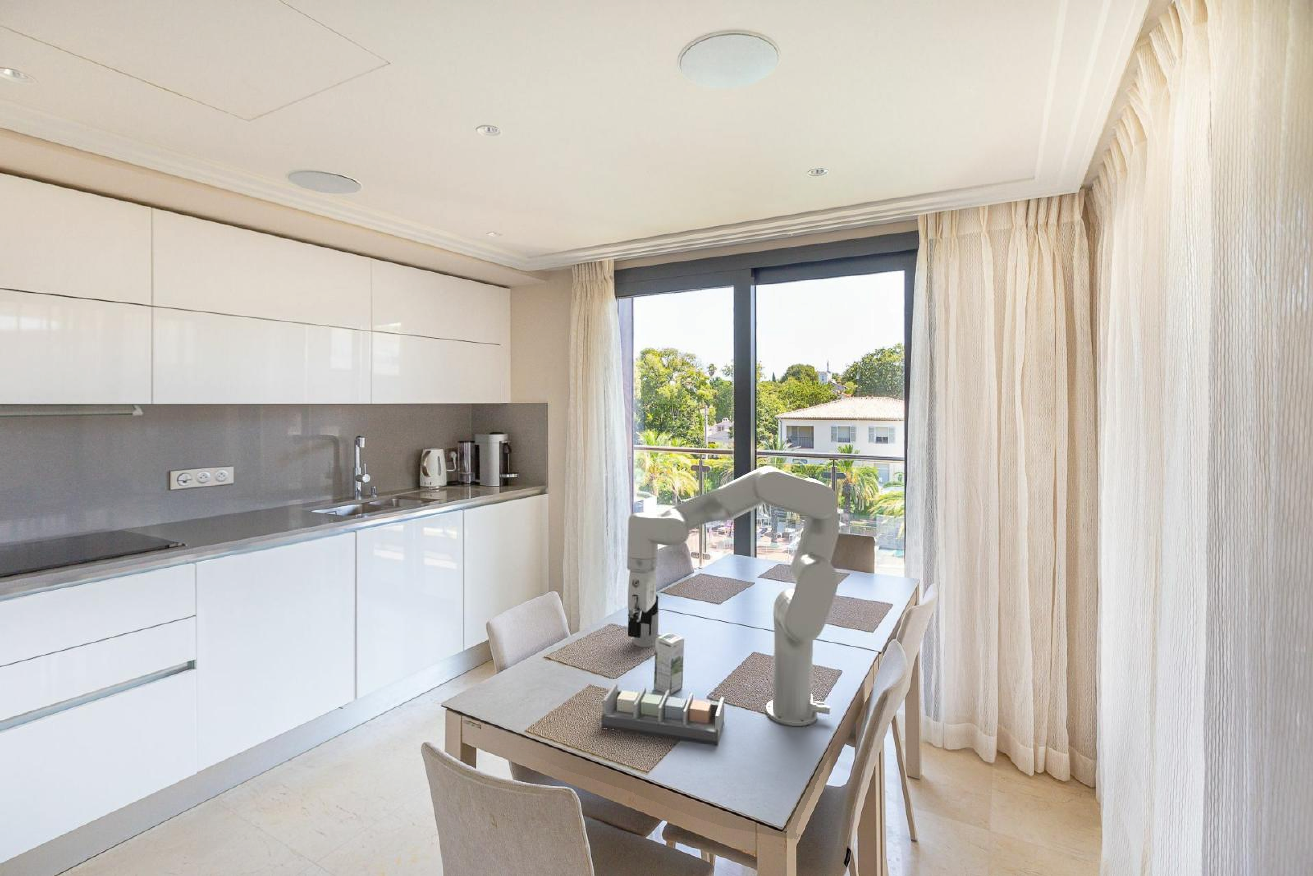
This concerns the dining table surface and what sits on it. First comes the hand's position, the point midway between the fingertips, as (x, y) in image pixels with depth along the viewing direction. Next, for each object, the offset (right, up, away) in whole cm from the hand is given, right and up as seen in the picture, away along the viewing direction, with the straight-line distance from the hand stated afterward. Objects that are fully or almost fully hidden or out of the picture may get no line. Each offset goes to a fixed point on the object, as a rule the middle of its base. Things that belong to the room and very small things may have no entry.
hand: (640, 630), depth 156 cm
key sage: (+3, -18, -5) cm, 19 cm away
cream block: (-3, -18, -3) cm, 19 cm away
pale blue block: (+9, -19, -6) cm, 21 cm away
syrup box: (+7, -21, +14) cm, 26 cm away
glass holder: (0, -19, +45) cm, 48 cm away
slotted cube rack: (+6, -22, -5) cm, 23 cm away
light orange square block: (+15, -19, -7) cm, 25 cm away
